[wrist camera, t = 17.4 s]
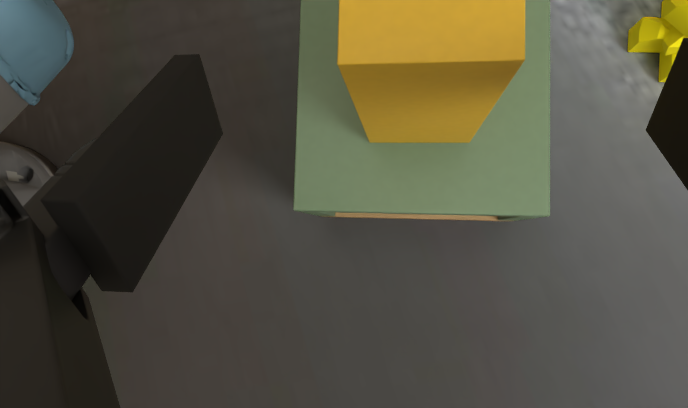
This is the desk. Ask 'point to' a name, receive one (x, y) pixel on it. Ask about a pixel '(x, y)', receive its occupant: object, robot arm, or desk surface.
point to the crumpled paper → (661, 34)
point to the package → (428, 64)
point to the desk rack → (420, 158)
